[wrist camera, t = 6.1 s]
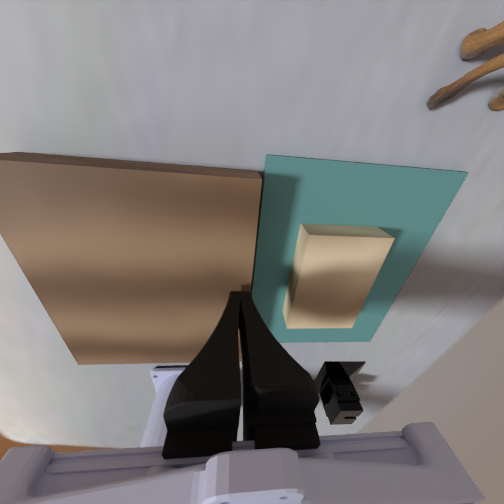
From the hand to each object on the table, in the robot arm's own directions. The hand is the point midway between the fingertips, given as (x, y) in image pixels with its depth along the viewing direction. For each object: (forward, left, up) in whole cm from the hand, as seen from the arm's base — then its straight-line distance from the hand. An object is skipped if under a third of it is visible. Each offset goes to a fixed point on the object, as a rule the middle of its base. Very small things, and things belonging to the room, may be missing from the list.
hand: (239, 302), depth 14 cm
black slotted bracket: (-18, -14, -4) cm, 23 cm away
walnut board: (0, +6, -4) cm, 7 cm away
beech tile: (0, -7, -1) cm, 8 cm away
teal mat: (0, -8, -4) cm, 9 cm away
